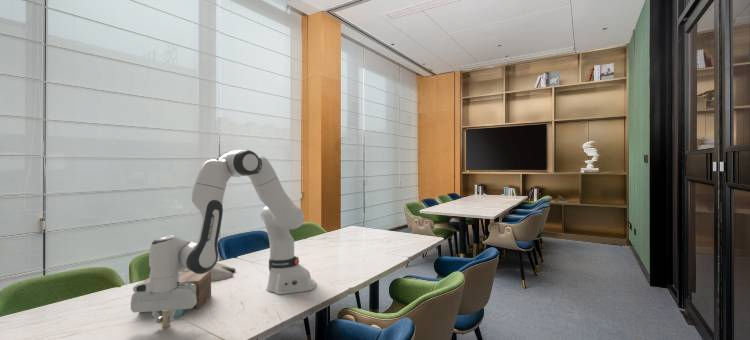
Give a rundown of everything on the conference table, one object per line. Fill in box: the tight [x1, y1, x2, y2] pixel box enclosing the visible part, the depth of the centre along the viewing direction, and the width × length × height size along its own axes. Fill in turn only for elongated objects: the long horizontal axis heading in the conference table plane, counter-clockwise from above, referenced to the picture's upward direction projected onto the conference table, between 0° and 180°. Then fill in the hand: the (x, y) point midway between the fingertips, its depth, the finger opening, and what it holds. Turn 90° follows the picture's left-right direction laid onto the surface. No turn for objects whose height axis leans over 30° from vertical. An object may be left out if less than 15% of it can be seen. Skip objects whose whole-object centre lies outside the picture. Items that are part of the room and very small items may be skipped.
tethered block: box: [161, 309, 186, 329], centre depth 123 cm, size 6×14×6 cm, turn 16°
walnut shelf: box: [138, 270, 212, 314], centre depth 137 cm, size 22×14×11 cm, turn 99°
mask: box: [179, 262, 236, 283], centre depth 172 cm, size 20×9×30 cm
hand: (164, 322), depth 116 cm, fingers closed on tethered block, 2 cm apart
